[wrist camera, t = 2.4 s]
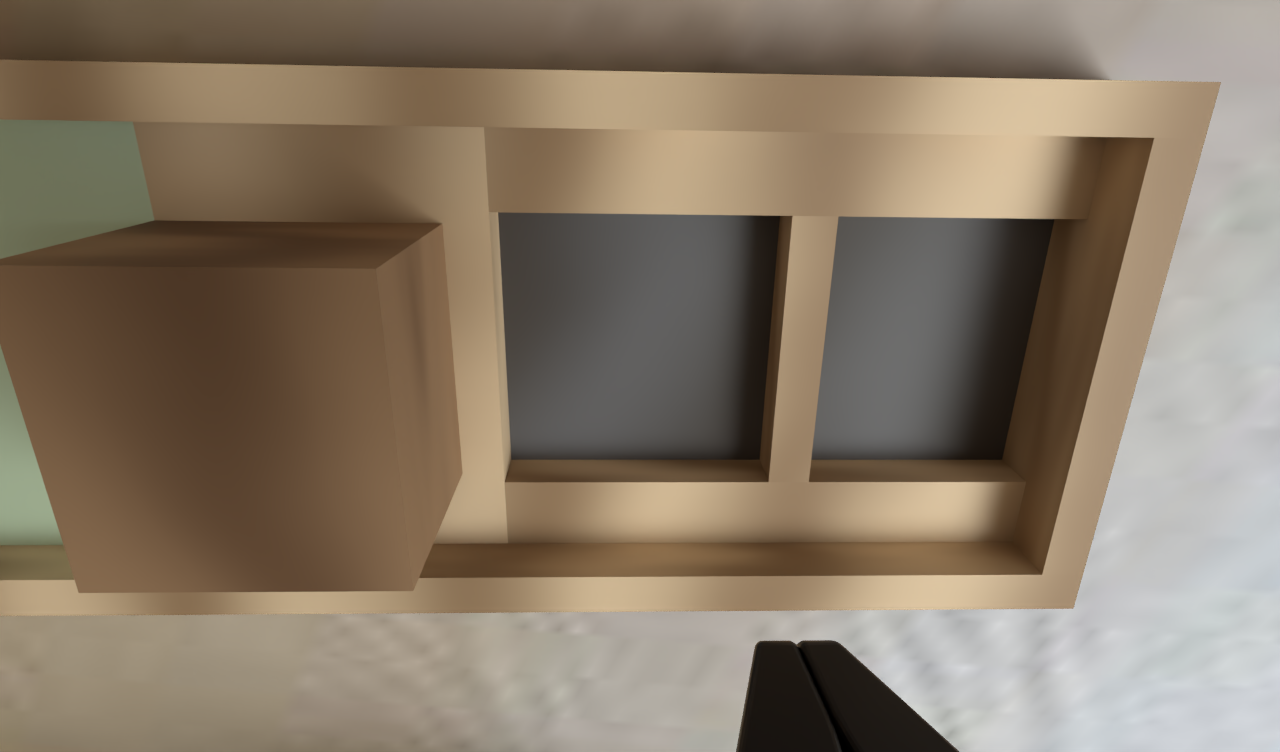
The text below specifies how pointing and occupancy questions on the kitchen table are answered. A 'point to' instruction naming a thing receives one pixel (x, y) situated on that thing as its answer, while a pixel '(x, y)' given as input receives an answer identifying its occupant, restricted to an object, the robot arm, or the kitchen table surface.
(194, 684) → the kitchen table surface
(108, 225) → the sage pad
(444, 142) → the oak tray
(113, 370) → the walnut block
